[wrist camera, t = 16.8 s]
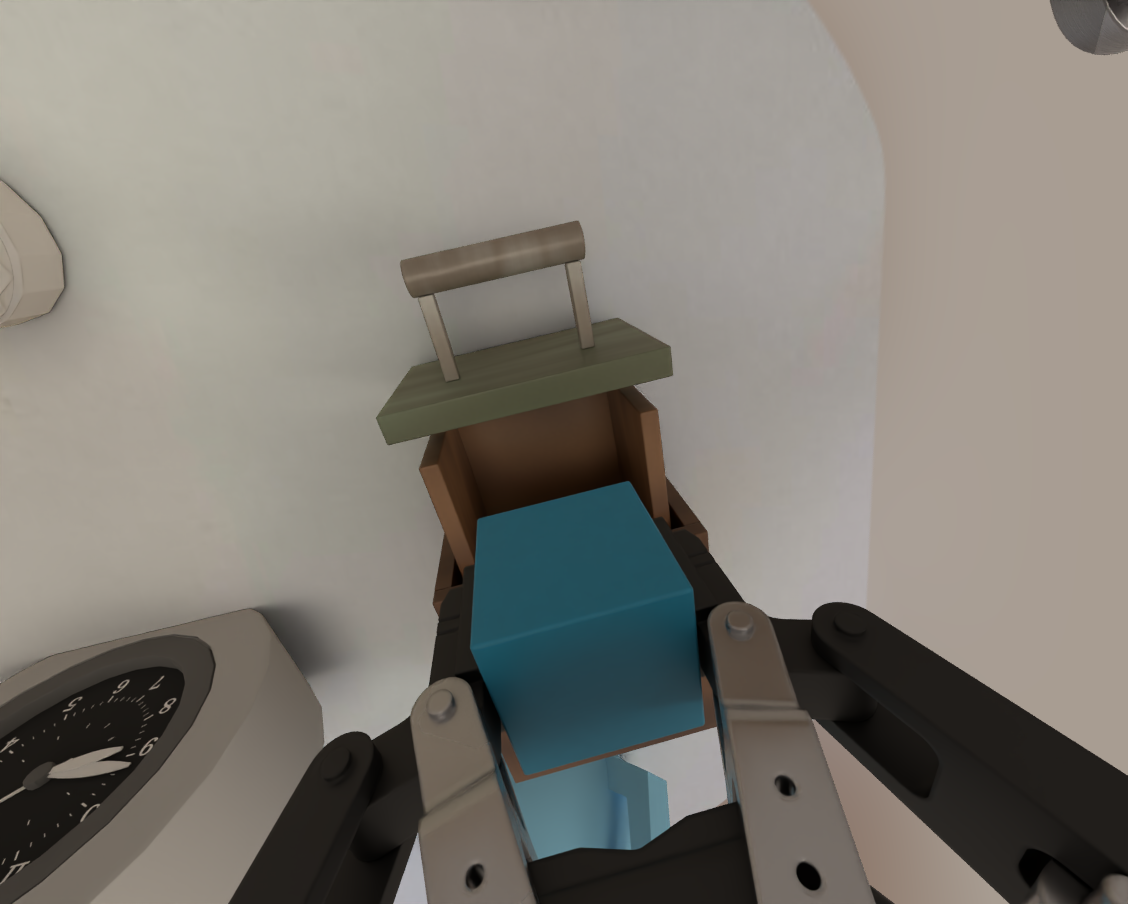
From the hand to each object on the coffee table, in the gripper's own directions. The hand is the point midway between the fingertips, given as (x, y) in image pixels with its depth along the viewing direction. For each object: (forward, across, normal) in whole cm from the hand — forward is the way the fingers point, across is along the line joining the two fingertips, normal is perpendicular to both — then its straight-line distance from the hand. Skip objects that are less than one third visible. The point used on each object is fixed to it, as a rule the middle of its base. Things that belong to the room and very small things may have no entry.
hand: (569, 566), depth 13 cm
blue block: (0, 0, 0) cm, 0 cm away
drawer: (+14, 0, 0) cm, 14 cm away
